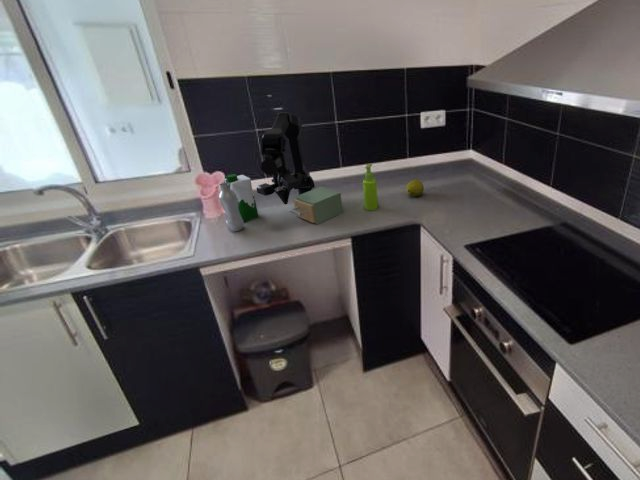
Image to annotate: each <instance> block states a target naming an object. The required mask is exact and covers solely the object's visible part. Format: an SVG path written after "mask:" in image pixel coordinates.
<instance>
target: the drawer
mask: <svg viewBox="0 0 640 480" xmlns="http://www.w3.org/2000/svg"><path fill="white" fill-rule="evenodd" d="M293 203H294V208H290V209H289V210H288V211H289V213H291V214H294V215H296V217H298V218H300V219H303V220H305V221H307V222H310V223H312V224H315V222H316V220H315V213H314V207H313V205H311V204H309V203H307V202H304V201H301V200H298V199H295V198H294V199H293Z"/></svg>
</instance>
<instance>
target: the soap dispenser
mask: <svg viewBox="0 0 640 480" xmlns="http://www.w3.org/2000/svg"><path fill="white" fill-rule="evenodd" d="M371 167H373V163H367V164H366V165H365V169H366V172H365V173H364V179H363V180H362V188H363V201H364V208H365V209H364V210H367V211H375V210H377V209H378V208H379V202H378V189H377V188H378V187H377V180H376V179H375V178H374V173H373V172H372V170H371Z"/></svg>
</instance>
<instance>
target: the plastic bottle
mask: <svg viewBox="0 0 640 480" xmlns="http://www.w3.org/2000/svg"><path fill="white" fill-rule="evenodd" d="M218 186H219V190H220V192H219V194H218V201H219V202H220V205H221V207H222V210H223V212H224V217H225V225H226V227H227V230H228V231H230V232H239V231H241V230H243V229H244V227H245V222H244V221H243V219H242V217H241V215H240V212H239V208H238V203H237V195H236V194H235V192H234V191H232V190H231V189H230V188H231V187H230V184H229V183H228V182H225V181H224V182H221V183H219V184H218Z"/></svg>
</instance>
